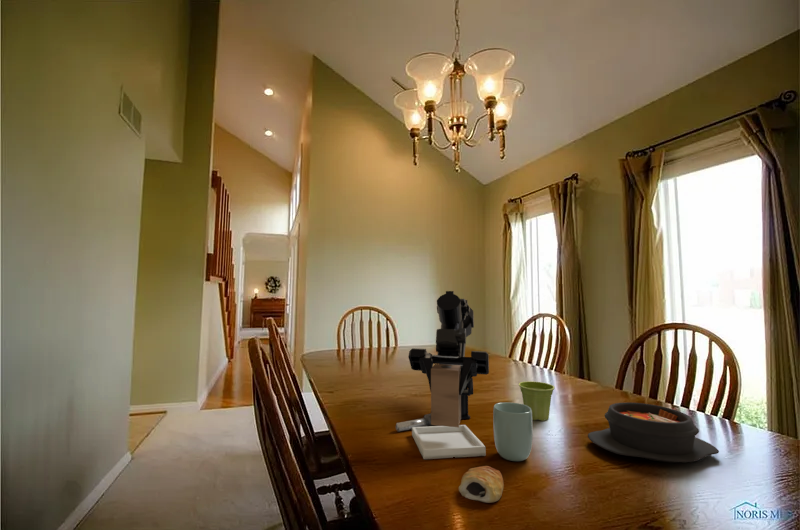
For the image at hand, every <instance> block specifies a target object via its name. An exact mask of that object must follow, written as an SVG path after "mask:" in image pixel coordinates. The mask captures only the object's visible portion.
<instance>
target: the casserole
mask: <svg viewBox="0 0 800 530" xmlns="http://www.w3.org/2000/svg"><path fill="white" fill-rule="evenodd" d="M604 418H605V419H606V420H607V422H608V425H609V427H608V428H605V429H603V430H596V431H595V430H594V431H591V432H589V433H588V434H587V438H588V439H589V440H590V441H591V442H592V443H593V444H594V445H596V446H597V447H600V448H602V449H604V450H606V451H609V452H611V453H613V454H616V455H621V456H627V457H636V458H641V459H644V458H645V460H648V459H649V461H654V462H660V463H661V462H662V463H692V462H696V461H701V460H702V459H705V458H706V457H708V456H712V455H717V454H719V453H720V451H719V449H718V448H717V447H716V446H715V445H712V444H711V443H709V442H707V441H705V440H704V439H701V438H698V437H696V436H697V435H698V434H699V432H700V429H699V428H698V427H697V426H696V425H695V423H694V420H693V418H692V417H691V416H690V415H688V414H687V413H684V412H682V411H679V410H677V409H674V408H669V407H665V406H661V405H656V404H650V403H643V402H616V403H612V404H610V405H609V407H608V410H607V411H606V412H605V413H604Z"/></svg>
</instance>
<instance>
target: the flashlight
mask: <svg viewBox="0 0 800 530" xmlns="http://www.w3.org/2000/svg"><path fill="white" fill-rule="evenodd" d="M428 426H433V425H431V413H427V414H424V415H423V417H422V418H417V419H412V420H406V421H401V422H396V424H395V430H396V431H397V432H398V433H399V432H403V431H410V430H412V427H428Z"/></svg>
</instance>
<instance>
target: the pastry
mask: <svg viewBox="0 0 800 530" xmlns="http://www.w3.org/2000/svg"><path fill="white" fill-rule="evenodd" d="M460 481H461V482H460V485H459V486H458V492H459V493H460V494H461V496H462V497H464V498H465V499H469V500H473V501H477V502H482V503H486V504H490V503H495V502H498V501H499V500H500V499H501V497H502V494H503V491H504V487H505V484H504V483H505V482H504V478H503V474H502V473H501V471H500V470H499V469H496V468H494V467H491V466H489V465H482V466H477V467H471V468H469V469H468V470H467V471H466V472H464V473H463V475H462V477H461V480H460Z"/></svg>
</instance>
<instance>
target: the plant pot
mask: <svg viewBox="0 0 800 530" xmlns="http://www.w3.org/2000/svg"><path fill="white" fill-rule="evenodd" d="M518 386H519V388H520V392H521V395H522V402H523V403H522V404H523V405H526V406H529V407H530V408H531V410H532V421H537V420H539V421H541V422H543V421H548V420H549V419H550V411H551V402H552V395H553V393H554V390H555V386H554V385H553V384H550V383H548V382H543V381H535V380H534V381H532V380H529V381H527V380H526V381H521V382H519V383H518Z"/></svg>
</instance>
